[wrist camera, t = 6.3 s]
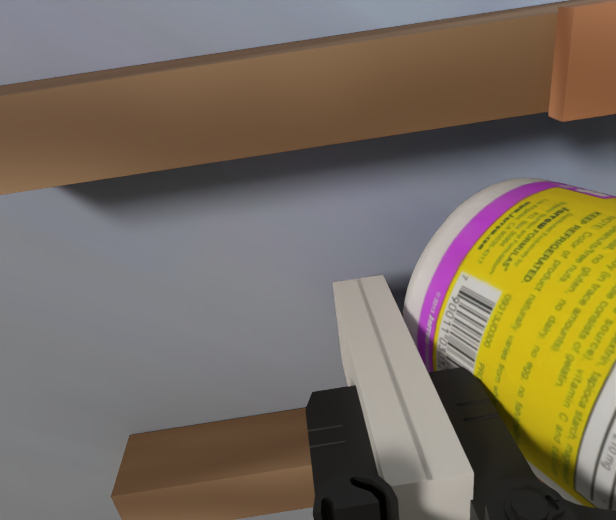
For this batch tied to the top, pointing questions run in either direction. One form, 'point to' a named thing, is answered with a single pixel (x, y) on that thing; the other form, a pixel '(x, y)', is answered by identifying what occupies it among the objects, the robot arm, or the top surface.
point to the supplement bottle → (531, 322)
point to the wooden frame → (280, 138)
